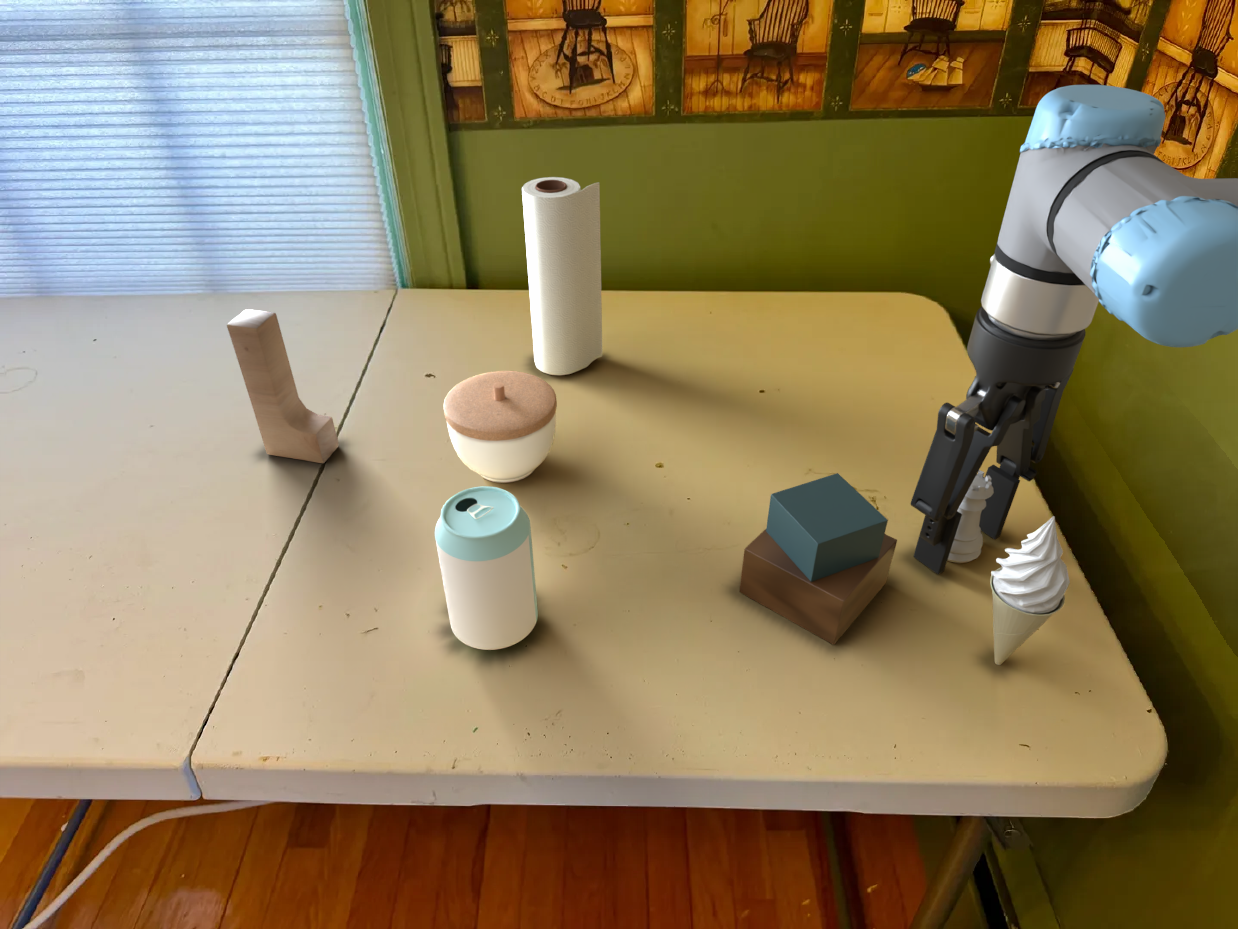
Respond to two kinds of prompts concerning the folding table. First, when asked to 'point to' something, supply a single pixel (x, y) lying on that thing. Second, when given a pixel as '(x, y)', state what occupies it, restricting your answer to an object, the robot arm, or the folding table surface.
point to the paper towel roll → (563, 273)
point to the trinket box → (501, 423)
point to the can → (487, 567)
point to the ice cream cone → (1027, 589)
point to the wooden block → (278, 391)
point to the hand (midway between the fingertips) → (957, 546)
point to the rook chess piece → (971, 521)
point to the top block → (825, 526)
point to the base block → (812, 587)
